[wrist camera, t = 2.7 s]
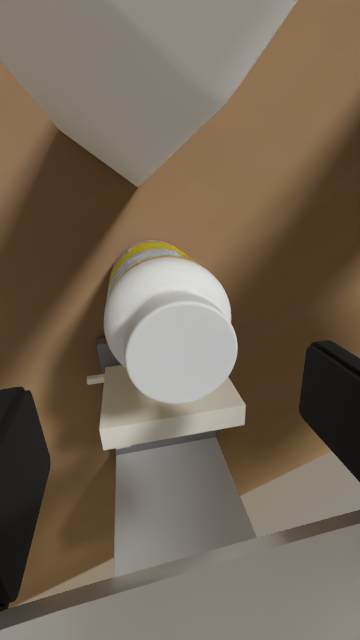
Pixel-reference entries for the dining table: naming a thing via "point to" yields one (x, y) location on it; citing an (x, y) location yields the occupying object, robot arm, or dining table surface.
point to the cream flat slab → (160, 412)
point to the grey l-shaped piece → (172, 498)
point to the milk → (134, 68)
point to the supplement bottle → (169, 323)
